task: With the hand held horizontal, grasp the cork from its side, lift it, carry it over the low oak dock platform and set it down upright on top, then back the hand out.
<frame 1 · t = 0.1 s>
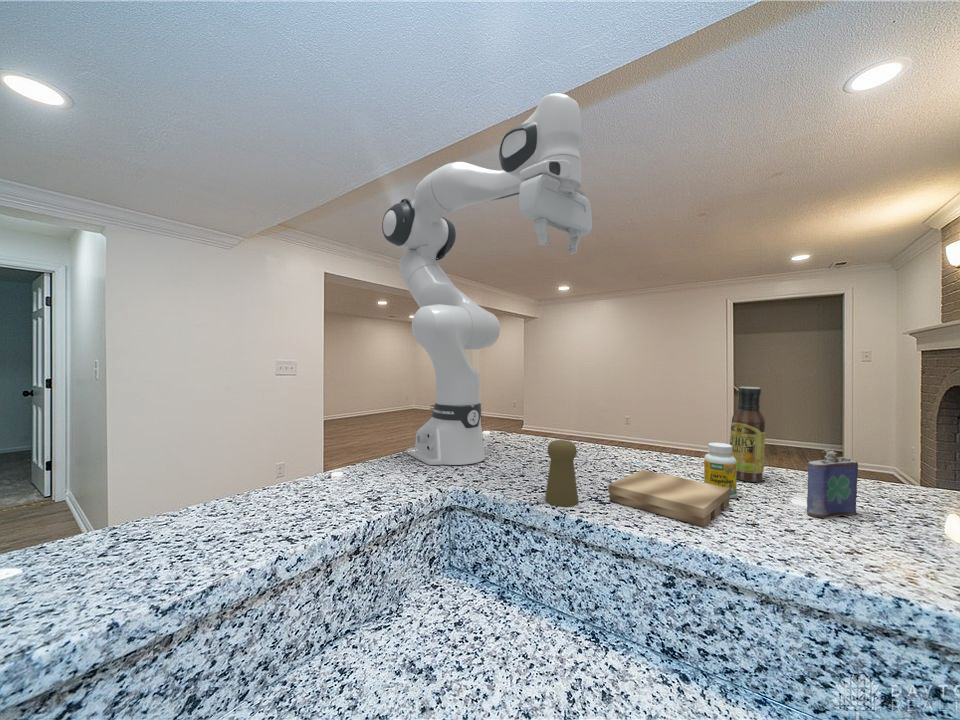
hand: (558, 249, 82), 48 cm above the counter, tool pointing down, fingers open, 8 cm apart
sauce bottle: (746, 479, 88), on the counter
flask: (830, 514, 69), on the counter
dock: (668, 502, 74), on the counter
cork: (561, 501, 75), on the counter
supplement bottle: (719, 495, 78), on the counter
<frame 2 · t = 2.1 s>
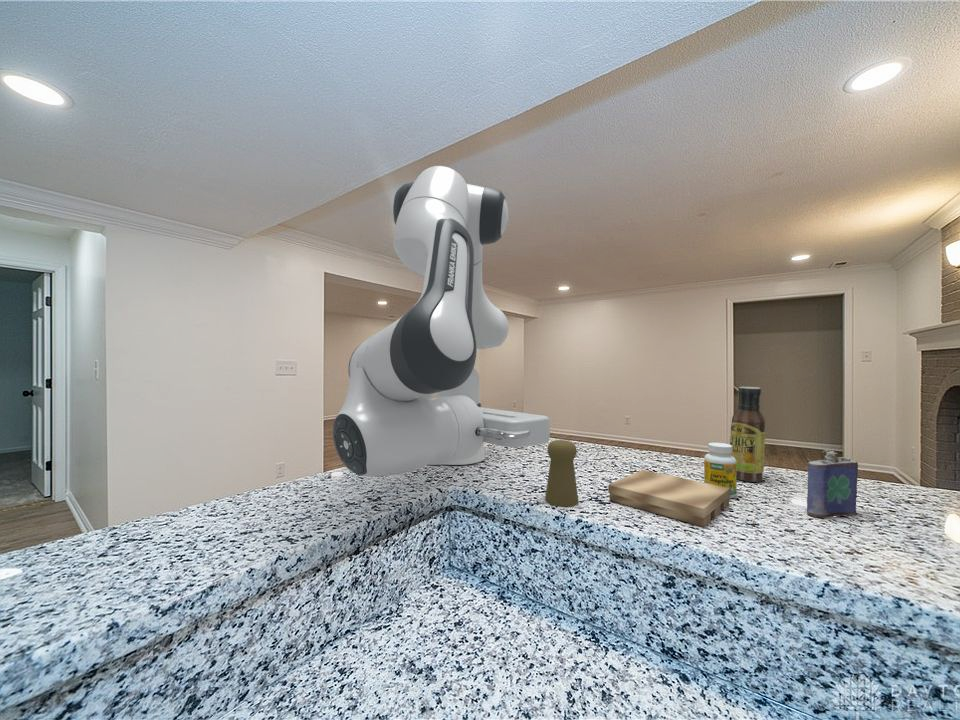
hand: (519, 417, 66), 17 cm above the counter, tool horizontal, fingers open, 8 cm apart
nothing on the counter moved.
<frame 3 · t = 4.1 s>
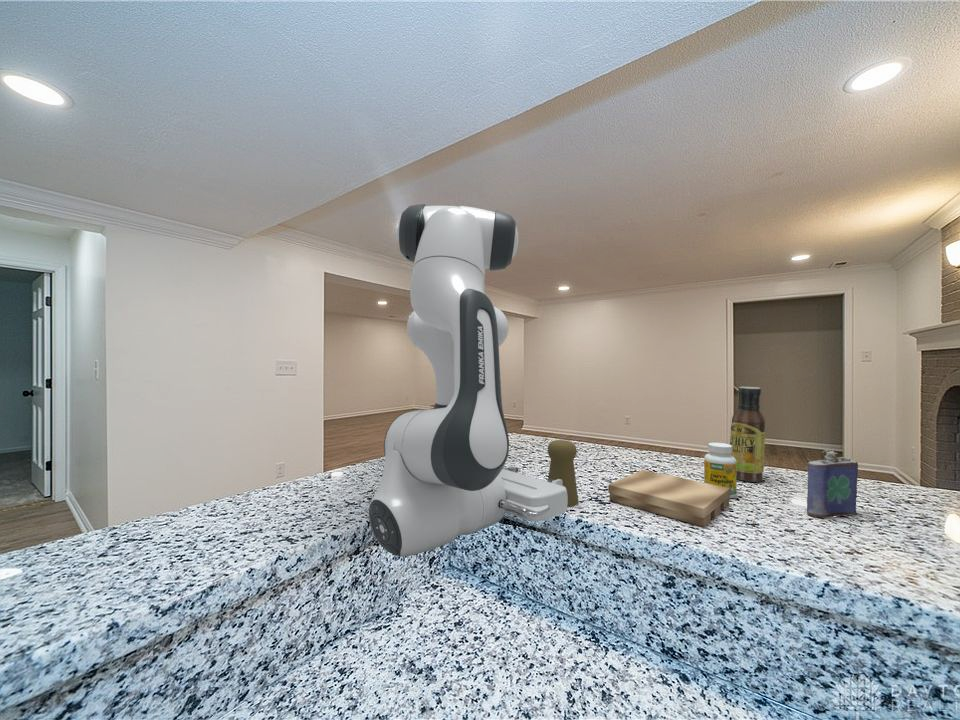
hand: (535, 477, 70), 6 cm above the counter, tool horizontal, fingers open, 8 cm apart
nothing on the counter moved.
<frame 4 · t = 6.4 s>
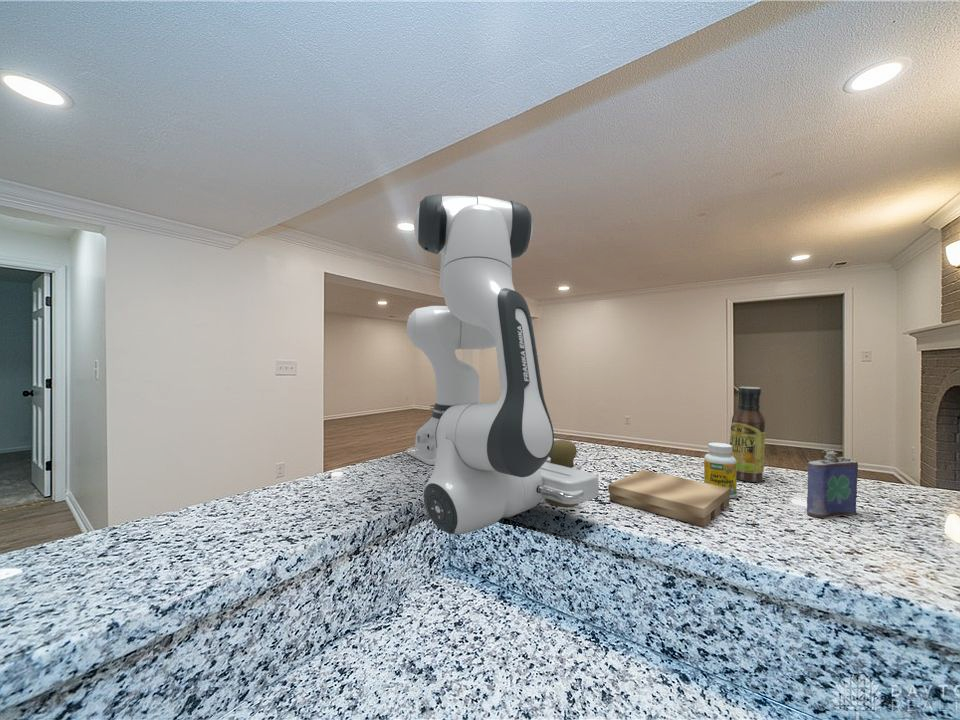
hand: (564, 466, 75), 6 cm above the counter, tool horizontal, fingers closed on cork, 4 cm apart
cork: (561, 501, 75), on the counter, touching gripper
everything else where it was.
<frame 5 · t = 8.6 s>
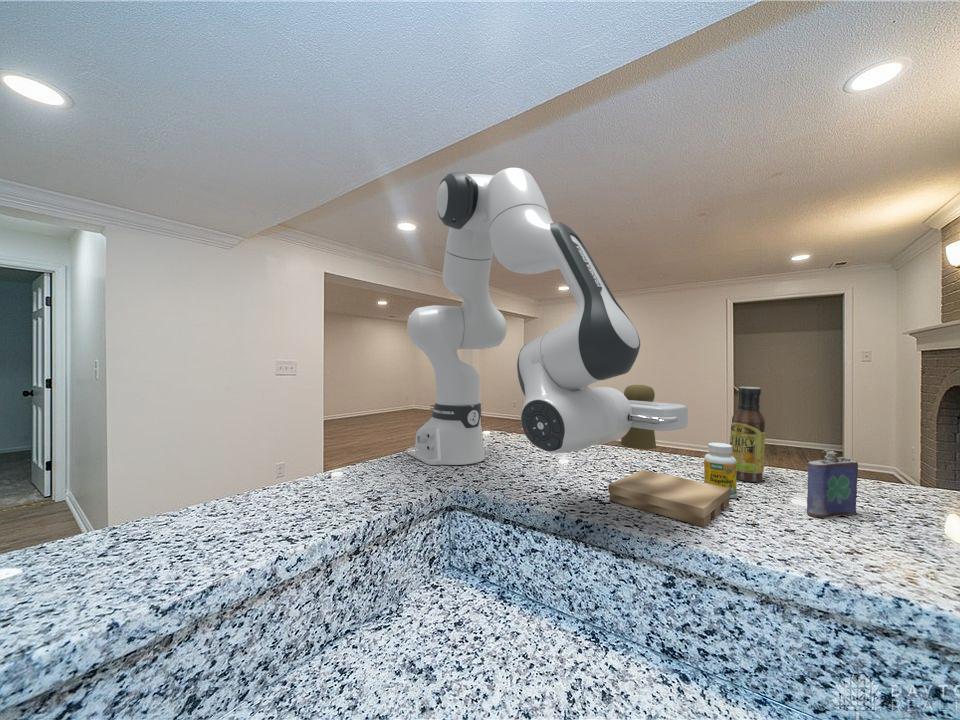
hand: (641, 407, 75), 17 cm above the counter, tool horizontal, fingers closed on cork, 4 cm apart
cork: (638, 446, 74), point 10 cm above the counter, touching gripper
everything else where it was.
when the fingers open (10 cm above the counter, at t = 11.1 s): cork stays where it is, resting on dock.
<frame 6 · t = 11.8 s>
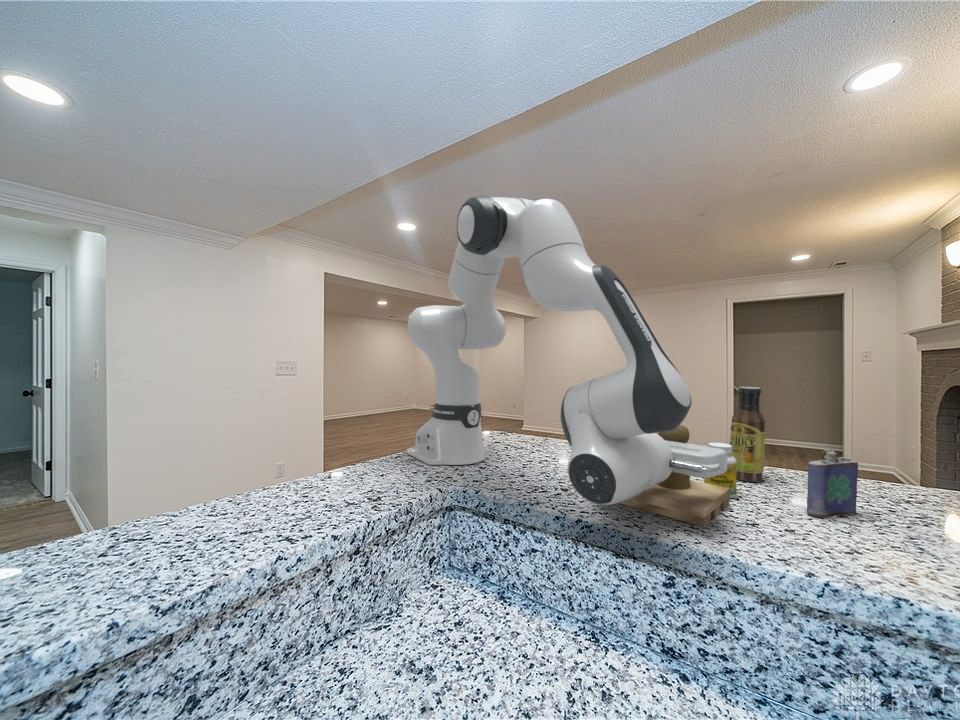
hand: (674, 445, 76), 10 cm above the counter, tool horizontal, fingers open, 8 cm apart
cork: (672, 485, 75), point 3 cm above the counter, touching dock
everything else where it was.
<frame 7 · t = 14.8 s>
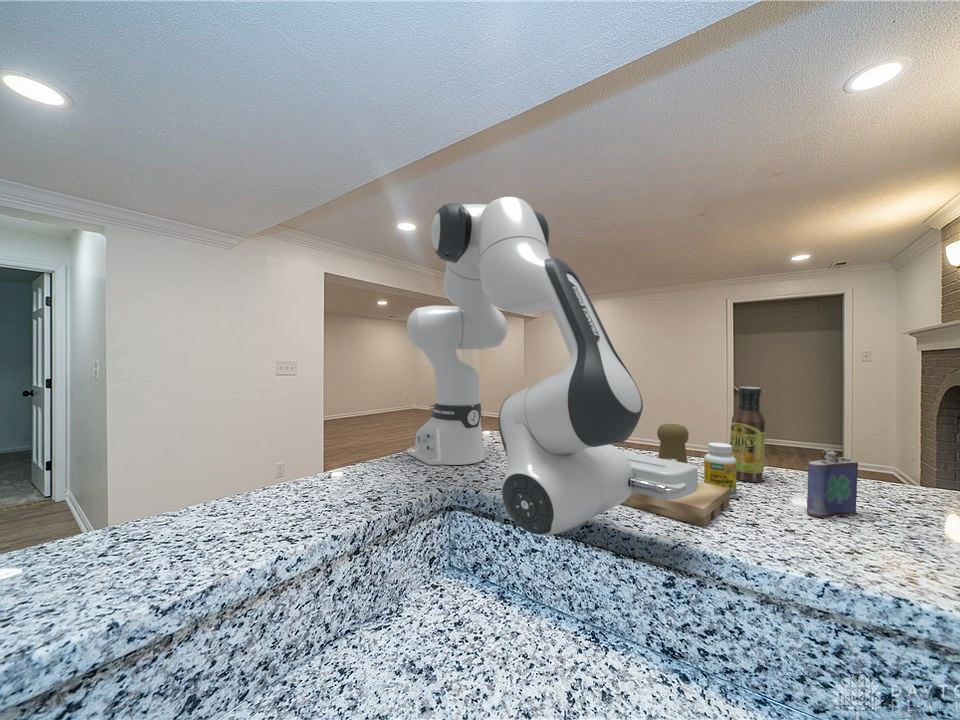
hand: (642, 458, 66), 10 cm above the counter, tool horizontal, fingers open, 8 cm apart
nothing on the counter moved.
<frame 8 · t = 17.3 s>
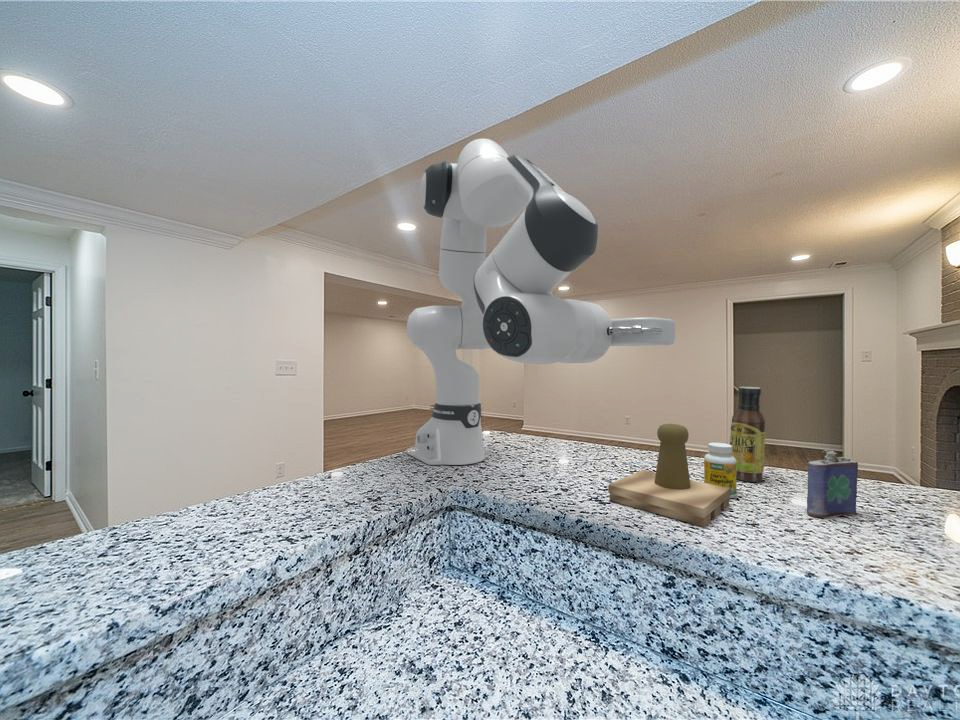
hand: (624, 335, 68), 30 cm above the counter, tool horizontal, fingers open, 8 cm apart
nothing on the counter moved.
at the end: cork inside the target area on the dock (1.8 cm from its centre), point 2.8 cm above the dock's base; cork tilted 0°; the gripper is holding nothing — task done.
